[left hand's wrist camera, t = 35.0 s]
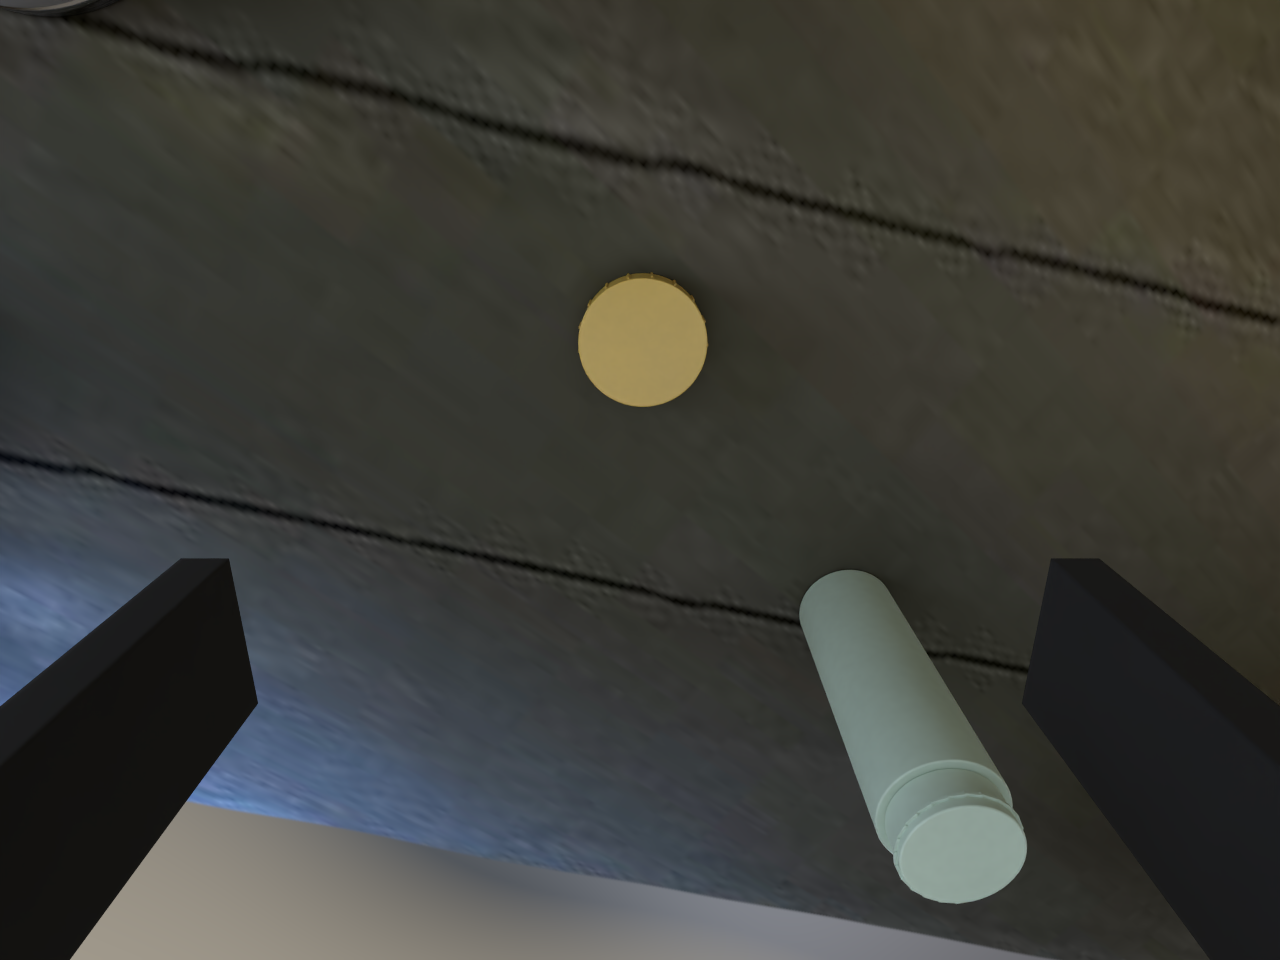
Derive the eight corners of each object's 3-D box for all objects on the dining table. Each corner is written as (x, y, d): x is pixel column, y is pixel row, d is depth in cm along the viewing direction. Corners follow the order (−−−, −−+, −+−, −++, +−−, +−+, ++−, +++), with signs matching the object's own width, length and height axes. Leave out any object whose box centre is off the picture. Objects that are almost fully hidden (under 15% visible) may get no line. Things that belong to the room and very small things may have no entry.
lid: (565, 287, 39) (561, 293, 36) (691, 257, 38) (694, 262, 36) (597, 408, 41) (594, 420, 39) (716, 380, 40) (720, 391, 38)
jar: (794, 577, 44) (885, 810, 28) (888, 562, 44) (1037, 788, 27) (804, 656, 46) (894, 919, 29) (894, 643, 46) (1037, 900, 29)
